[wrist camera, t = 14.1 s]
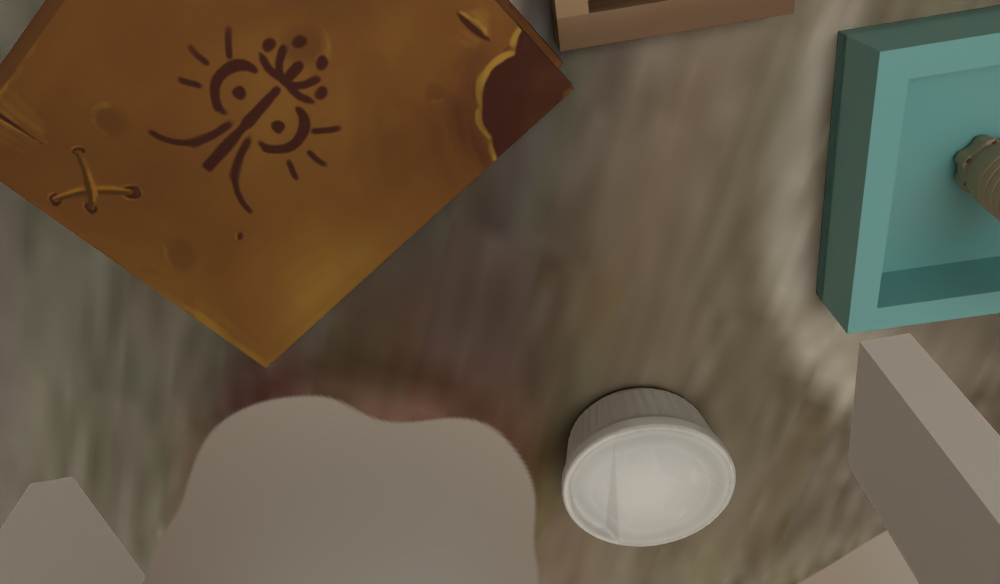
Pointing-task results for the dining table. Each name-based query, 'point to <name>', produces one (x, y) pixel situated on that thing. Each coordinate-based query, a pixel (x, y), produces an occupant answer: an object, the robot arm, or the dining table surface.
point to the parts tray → (910, 173)
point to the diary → (263, 138)
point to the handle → (981, 172)
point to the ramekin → (645, 469)
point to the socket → (649, 18)
